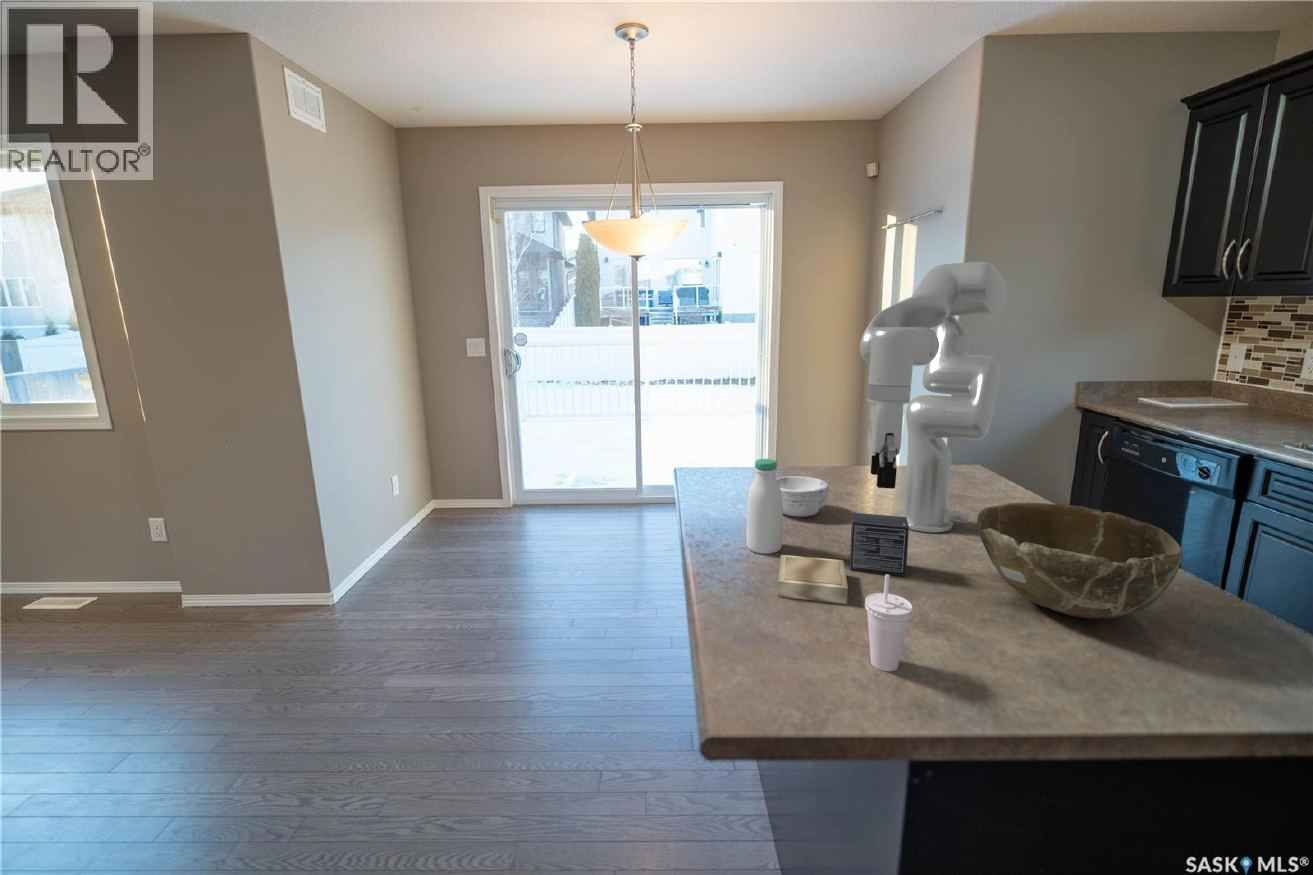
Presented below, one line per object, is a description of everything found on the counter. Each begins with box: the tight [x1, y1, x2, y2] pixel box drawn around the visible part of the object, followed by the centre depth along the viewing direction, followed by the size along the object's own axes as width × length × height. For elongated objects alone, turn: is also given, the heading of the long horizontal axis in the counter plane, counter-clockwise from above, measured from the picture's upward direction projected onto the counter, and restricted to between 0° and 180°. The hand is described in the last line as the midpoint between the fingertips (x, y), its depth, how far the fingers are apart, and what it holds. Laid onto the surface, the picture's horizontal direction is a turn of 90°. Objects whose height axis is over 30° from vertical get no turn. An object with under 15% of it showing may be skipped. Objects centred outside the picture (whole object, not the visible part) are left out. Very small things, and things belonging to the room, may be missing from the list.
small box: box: [849, 512, 910, 577], centre depth 111 cm, size 11×6×10 cm, turn 71°
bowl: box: [976, 502, 1184, 620], centre depth 94 cm, size 28×27×15 cm
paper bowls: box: [776, 475, 829, 518], centre depth 145 cm, size 15×15×8 cm
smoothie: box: [864, 574, 914, 672], centre depth 80 cm, size 6×6×14 cm
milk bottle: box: [745, 458, 784, 555], centre depth 121 cm, size 8×8×20 cm
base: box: [777, 554, 849, 605], centre depth 105 cm, size 12×12×3 cm
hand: (882, 480), depth 108 cm, fingers open, 9 cm apart
